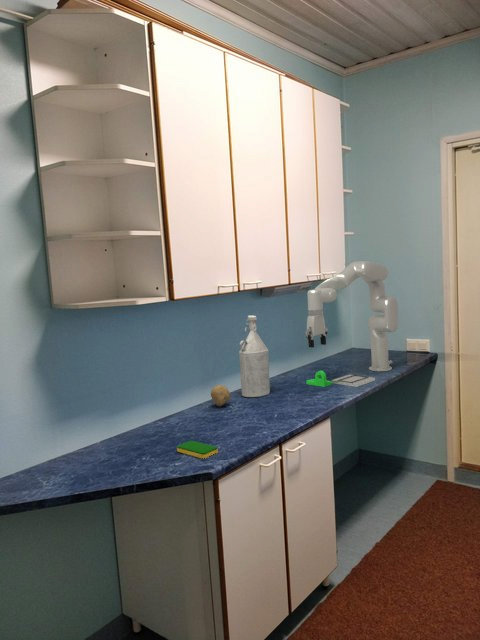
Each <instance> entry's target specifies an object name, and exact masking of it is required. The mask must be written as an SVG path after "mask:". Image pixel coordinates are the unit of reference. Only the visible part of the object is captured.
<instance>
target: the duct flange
mask: <svg viewBox="0 0 480 640" xmlns="http://www.w3.org/2000/svg"><path fill="white" fill-rule="evenodd" d="M330 381H331V384H336V385H342V386H350V387H356V388H357V387H360V386H363V385H366V384H369V383H372V382H375V381H376V377H373V376H372V377H371V376H367V375H360V374H359V375H358V374H347V375H343V376H339V377H337V378H334V379H331V380H330Z"/></svg>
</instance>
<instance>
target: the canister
mask: <svg viewBox="0 0 480 640" xmlns="http://www.w3.org/2000/svg"><path fill="white" fill-rule="evenodd" d="M248 321H249V323H247V322H248ZM247 325H249V326H248V327H247ZM248 329H249V333H248V335H247V336H246V338H245V340H241V341H240V342H239V345H238V346H239V349H240V350H239V351H238V354H239V355H238V357H239V369H240V370H239V371H240V373H239V374H240V385H241V386H240V387H241V389H240V390H241V396H242V397H245V398H258V397H264V396H267V395H269V394H270V393H271V390H270V389H271V386H270V359H269V358H270V357H269V352H270V351H269V349H268V347H267V346H266V344H265V342H264V340H262V339H261V337H260V335H259V334H258V332H257V316H256V315H247V320H246V325H245V327H244V332H245V333H247V332H248Z"/></svg>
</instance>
